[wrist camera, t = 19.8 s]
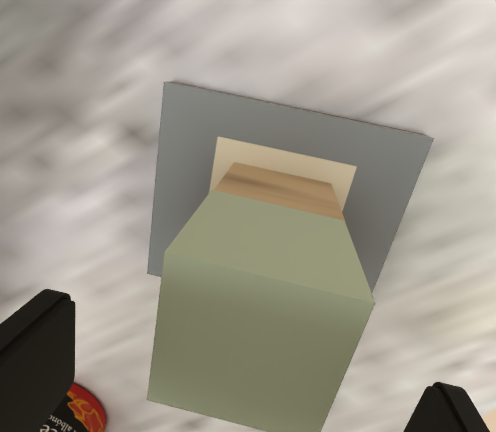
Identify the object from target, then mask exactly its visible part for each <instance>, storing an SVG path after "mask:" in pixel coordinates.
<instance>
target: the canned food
mask: <svg viewBox="0 0 496 432" xmlns="http://www.w3.org/2000/svg"><path fill="white" fill-rule="evenodd" d="M105 424H106V416H105V413H104V410H103V408H102V407H101V405H100V403H99V402H98V401H97V400H96V398H95V397H94V396H93V395H91V394H90V393H89V392H88V391H86V390H85V389H83V388H82V387H80V386H78V385H76V384H74V383H73V384H72V386H71V388H70V390H69V391H68V393H67V394H66V395H65V397H64V398H63V400H62V401H61V402H60V404H59V405H58V406H57V408H56V409H55V410H54V412H53V413H52V414H51V416H50V417H49V418H48V420H47V421H46V423H45V424H44V425H43V427H42V428H41V429H40V431H39V432H104V428H105Z"/></svg>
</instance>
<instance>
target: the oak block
mask: <svg viewBox="0 0 496 432" xmlns="http://www.w3.org/2000/svg"><path fill="white" fill-rule="evenodd" d="M214 190H216V191H220V192H224V193H229V194H233V195H237V196H241V197H246V198H250V199H254V200H259V201H263V202H267V203H271V204H276V205H280V206H284V207H289V208H293V209H297V210H301V211H306V212H310V213H314V214H318V215H323V216H327V217H331V218H336V219H340V220H344V221H345V219H344V216H343V214H342V211H341V208H340V206H339V203H338V200H337V198H336V195H335V192H334V190H333V187H332V184H331V183H327V182H322V181H318V180H313V179H309V178H304V177H300V176H295V175H291V174H286V173H281V172H277V171H272V170H268V169H263V168H259V167H254V166H250V165H245V164H241V163H236V162H234V163H233V164H232V166H231V167H230V169H229V170H228V171H227V173H226V174H225V175H224V177H223V178H222V179H221V181H220V182H219V183H218V185H217V186H216V187H215V189H214Z"/></svg>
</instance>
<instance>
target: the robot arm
mask: <svg viewBox="0 0 496 432" xmlns="http://www.w3.org/2000/svg"><path fill="white" fill-rule="evenodd" d="M74 376H75V302H74V301H72V300H71V298H70V295H69V294H67V293H63V292H59V291H54V290H50V289H45V290H43V291H41V292H40V293H39V294H37V295H36V296H35V297H34V298H32V299H31V300H30V301H29V302H27V303H26V304H25V305H24V306H22V307H21V308H20V309H19V310H17V311H16V312H15V313H14V314H12V315H11V316H10V317H9V318H7V319H6V320H5V321H4V322H2V323H1V324H0V432H39V431H40V429H41V428H42V427H43V425H44V424H45V423H46V421H47V420H48V418H49V417H50V416H51V414H52V413H53V412H54V410H55V409H56V408H57V406H58V405H59V404H60V402H61V401H62V400H63V398H64V397H65V395H66V394H67V393H68V391H69V390H70V388H71V386H72V384H73V381H74ZM404 432H490V431H489V429H488V428H487V426H486V424H485V423H484V421H483V419H482V418H481V416H480V414H479V413H478V411H477V409H476V408H475V406H474V404H473V402H472V401H471V399H470V397H469V396H468V394H467V393H466V391H465V390H464V389H463V388H461V387H458V386H453V385H449V384H445V383H441V382H436V383H434V384H433V386H428V387H427V388H426V389H425V391H424V393H423V395H422V397H421V399H420V401H419V403H418V404H417V406H416V408H415V410H414V412H413V414H412V416H411V418H410V420H409V422H408V424H407V426H406V428H405V430H404Z"/></svg>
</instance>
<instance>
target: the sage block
mask: <svg viewBox="0 0 496 432" xmlns="http://www.w3.org/2000/svg"><path fill="white" fill-rule="evenodd" d="M374 305H375V301H374V299H373V296H372V293H371V291H370V288H369V285H368V282H367V280H366V277H365V274H364V272H363V269H362V266H361V264H360V261H359V258H358V255H357V253H356V250H355V247H354V245H353V242H352V239H351V237H350V234H349V231H348V229H347V226H346V223H345V221H344V220H340V219H336V218H331V217H327V216H323V215H318V214H314V213H310V212H306V211H301V210H297V209H293V208H289V207H284V206H280V205H276V204H271V203H267V202H263V201H259V200H254V199H250V198H246V197H241V196H237V195H233V194H229V193H224V192H220V191H216V190H211V192H210V193H209V194H208V195H207V197H206V198H205V199H204V201H203V202H202V203H201V205H200V206H199V207H198V209H197V210H196V211H195V213H194V214H193V215H192V217H191V218H190V219H189V221H188V222H187V223H186V225H185V226H184V227H183V228H182V230H181V231H180V232H179V234H178V235H177V236H176V238H175V239H174V240H173V242H172V243H171V244H170V246H169V247H168V248H167V250H166V251H165V253H164V261H163V270H162V278H161V286H160V295H159V303H158V312H157V320H156V328H155V337H154V345H153V354H152V362H151V370H150V379H149V387H148V395H147V400H149V401H153V402H157V403H160V404H164V405H168V406H172V407H176V408H180V409H183V410H187V411H191V412H195V413H199V414H202V415H206V416H210V417H214V418H218V419H222V420H225V421H229V422H233V423H237V424H241V425H245V426H248V427H252V428H256V429H260V430H264V431H268V432H321V429H322V427H323V425H324V422H325V420H326V418H327V415H328V413H329V411H330V408H331V406H332V404H333V401H334V399H335V397H336V394H337V392H338V389H339V387H340V385H341V382H342V380H343V378H344V375H345V373H346V371H347V368H348V366H349V364H350V361H351V359H352V357H353V354H354V352H355V350H356V347H357V345H358V342H359V340H360V338H361V335H362V333H363V331H364V328H365V326H366V324H367V321H368V319H369V317H370V314H371V312H372V310H373V307H374Z"/></svg>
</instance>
